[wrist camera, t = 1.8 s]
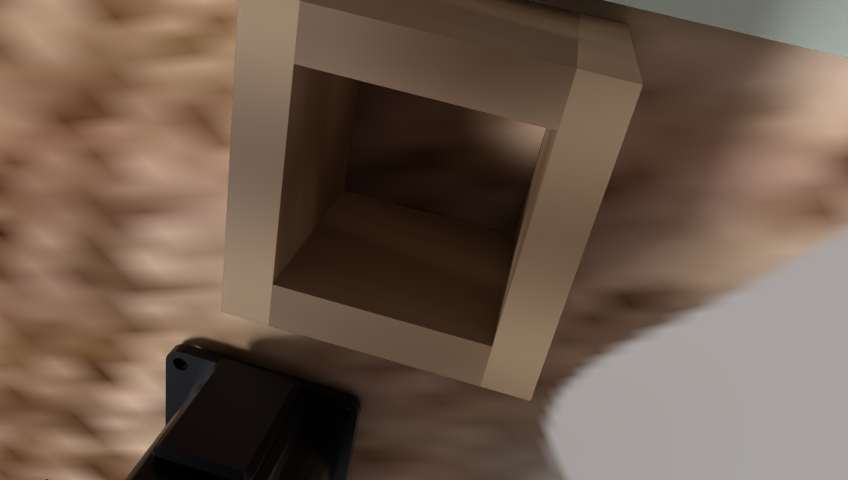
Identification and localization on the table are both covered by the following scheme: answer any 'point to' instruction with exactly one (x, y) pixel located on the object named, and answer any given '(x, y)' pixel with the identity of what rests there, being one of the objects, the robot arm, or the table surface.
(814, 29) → the post block
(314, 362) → the table surface
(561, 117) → the walnut sleeve
